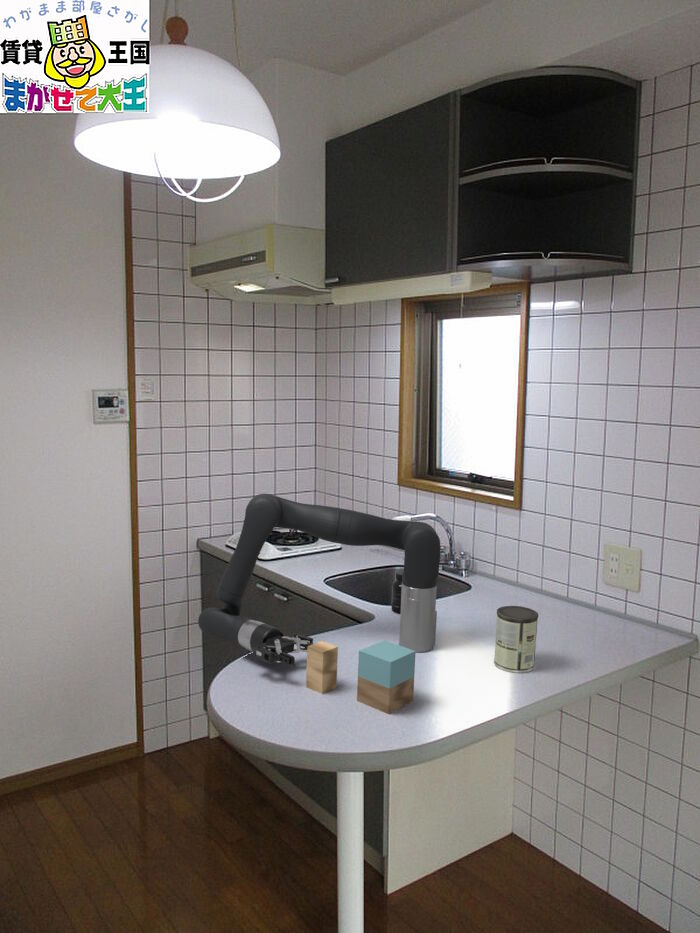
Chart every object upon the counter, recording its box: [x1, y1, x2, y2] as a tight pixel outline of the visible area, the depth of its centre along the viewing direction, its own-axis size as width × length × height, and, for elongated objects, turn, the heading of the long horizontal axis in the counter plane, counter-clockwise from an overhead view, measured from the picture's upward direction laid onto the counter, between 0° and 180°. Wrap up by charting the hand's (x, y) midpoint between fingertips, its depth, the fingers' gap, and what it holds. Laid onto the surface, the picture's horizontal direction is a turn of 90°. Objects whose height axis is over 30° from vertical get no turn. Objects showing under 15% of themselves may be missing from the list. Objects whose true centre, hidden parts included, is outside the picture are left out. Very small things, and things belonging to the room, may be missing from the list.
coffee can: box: [493, 605, 539, 674], centre depth 198 cm, size 10×10×14 cm
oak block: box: [305, 640, 339, 695], centre depth 181 cm, size 5×5×10 cm
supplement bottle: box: [391, 570, 403, 615], centre depth 236 cm, size 7×7×12 cm
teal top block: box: [357, 639, 417, 689], centre depth 174 cm, size 9×9×6 cm
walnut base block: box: [356, 675, 415, 715], centre depth 175 cm, size 9×9×6 cm
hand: (306, 656), depth 184 cm, fingers open, 8 cm apart
